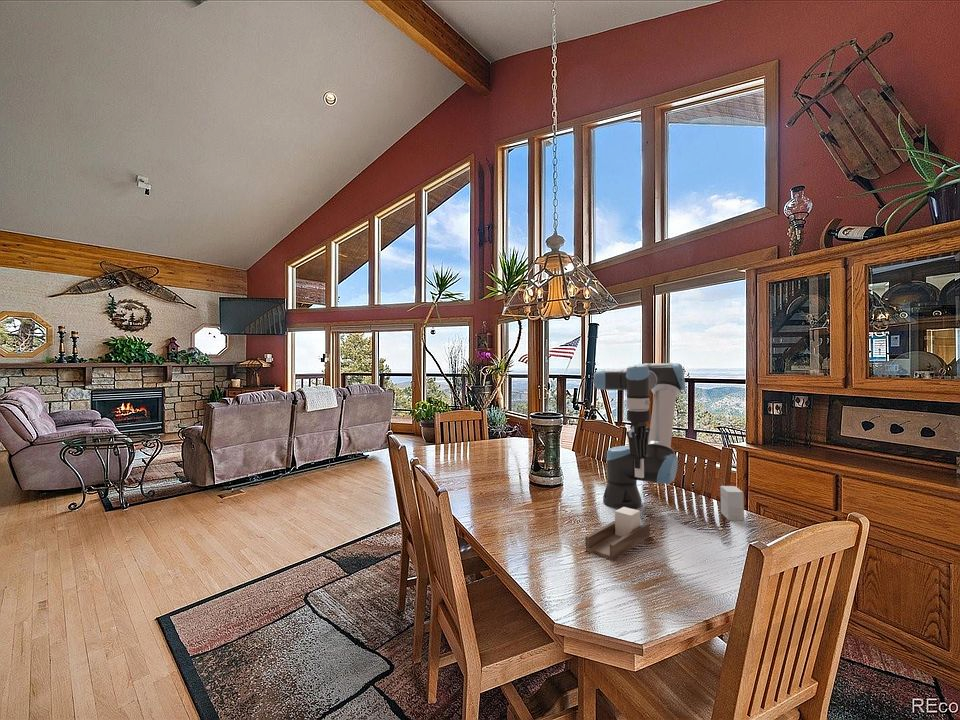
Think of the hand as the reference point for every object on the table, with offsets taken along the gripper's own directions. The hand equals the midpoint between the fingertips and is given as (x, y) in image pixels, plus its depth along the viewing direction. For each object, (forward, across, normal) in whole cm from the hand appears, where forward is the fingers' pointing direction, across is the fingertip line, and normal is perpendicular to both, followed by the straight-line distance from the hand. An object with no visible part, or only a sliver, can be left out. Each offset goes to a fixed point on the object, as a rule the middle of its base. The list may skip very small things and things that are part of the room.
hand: (639, 477), depth 157 cm
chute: (+19, -15, 0) cm, 24 cm away
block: (+18, -9, 0) cm, 20 cm away
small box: (+19, +35, -19) cm, 44 cm away
